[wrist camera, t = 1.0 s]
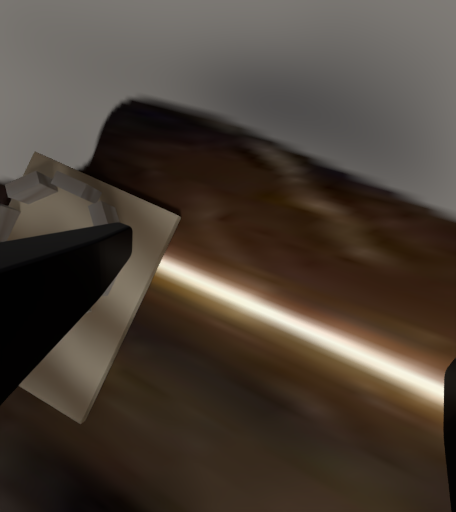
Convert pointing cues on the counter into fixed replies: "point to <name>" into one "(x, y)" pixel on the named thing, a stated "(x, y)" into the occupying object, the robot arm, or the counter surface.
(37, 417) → the counter surface
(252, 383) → the counter surface
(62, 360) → the collar plate
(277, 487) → the counter surface
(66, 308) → the robot arm
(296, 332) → the counter surface
